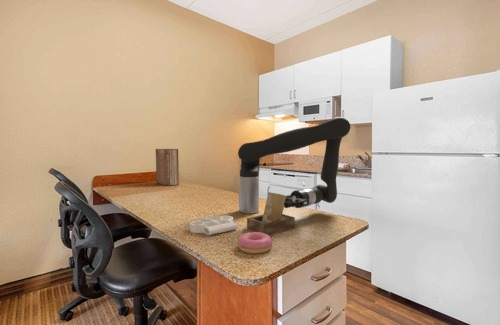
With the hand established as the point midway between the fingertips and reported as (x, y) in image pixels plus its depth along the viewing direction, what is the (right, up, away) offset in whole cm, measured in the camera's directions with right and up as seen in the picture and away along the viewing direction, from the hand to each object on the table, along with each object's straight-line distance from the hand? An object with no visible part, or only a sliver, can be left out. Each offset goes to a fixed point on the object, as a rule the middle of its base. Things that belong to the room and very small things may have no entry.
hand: (276, 203), depth 101 cm
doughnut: (-9, -11, -21) cm, 25 cm away
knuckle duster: (-24, -10, -1) cm, 27 cm away
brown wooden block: (-81, -3, +118) cm, 144 cm away
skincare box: (-3, -8, -3) cm, 9 cm away
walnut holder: (-3, -9, -2) cm, 10 cm away
